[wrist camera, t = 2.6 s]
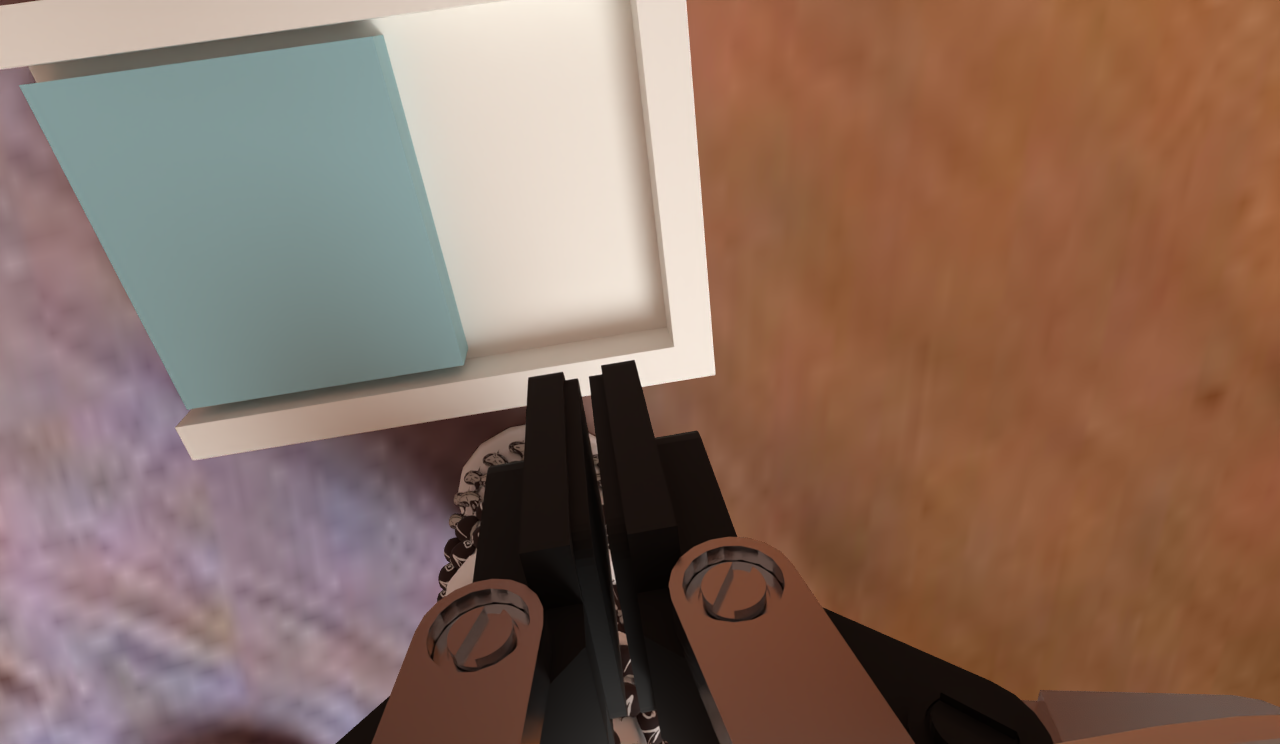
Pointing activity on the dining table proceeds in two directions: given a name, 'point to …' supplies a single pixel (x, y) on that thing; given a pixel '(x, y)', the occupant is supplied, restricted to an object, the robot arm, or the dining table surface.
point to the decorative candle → (632, 732)
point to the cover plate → (262, 217)
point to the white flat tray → (474, 183)
